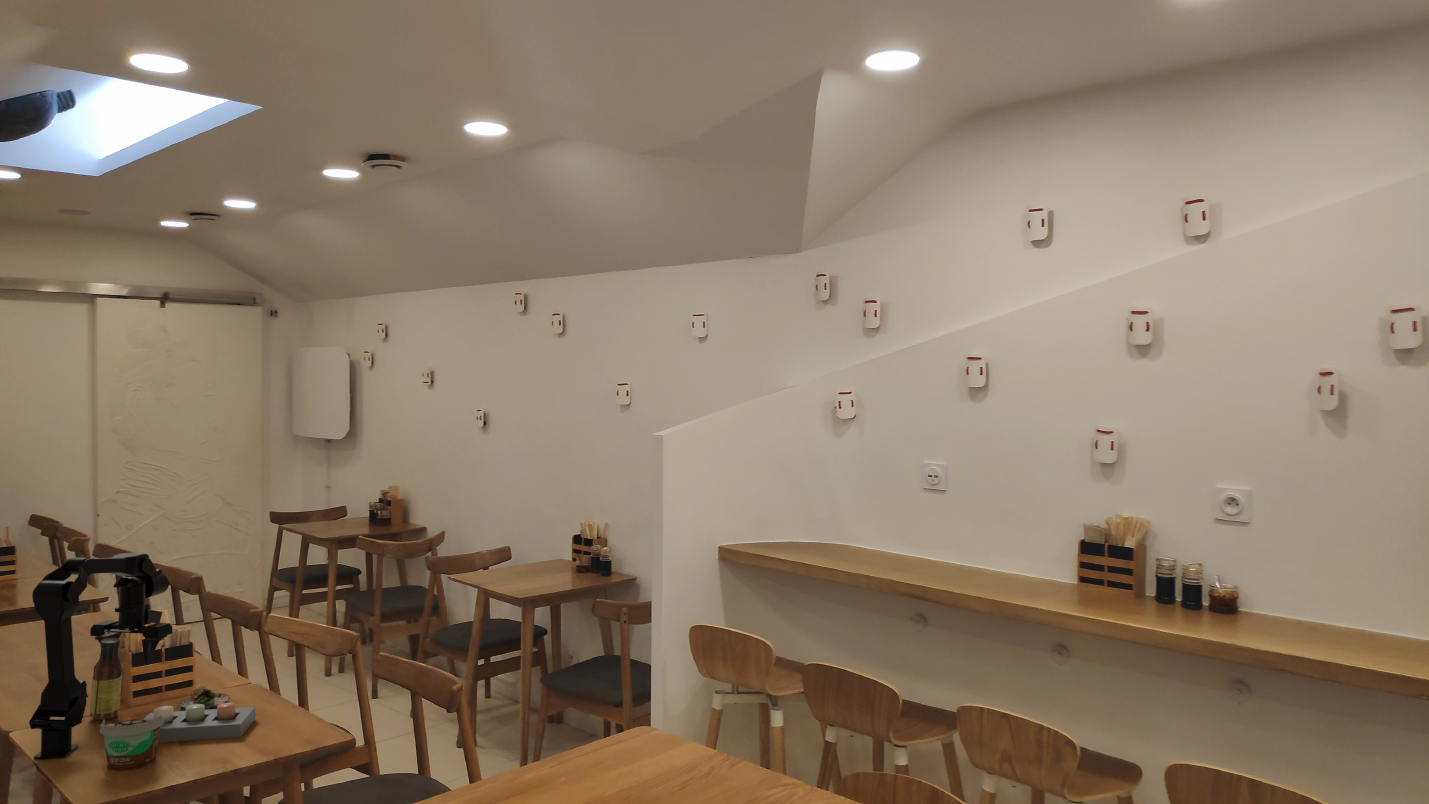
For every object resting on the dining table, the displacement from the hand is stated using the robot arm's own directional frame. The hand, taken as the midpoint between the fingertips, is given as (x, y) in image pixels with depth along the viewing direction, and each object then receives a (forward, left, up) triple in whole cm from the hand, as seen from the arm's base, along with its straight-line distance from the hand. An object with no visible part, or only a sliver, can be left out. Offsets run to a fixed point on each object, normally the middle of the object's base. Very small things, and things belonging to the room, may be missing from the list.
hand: (130, 663), depth 229 cm
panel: (-15, -20, -14) cm, 28 cm away
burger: (+4, -16, -14) cm, 22 cm away
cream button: (-15, -13, -11) cm, 22 cm away
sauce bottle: (-1, +6, -13) cm, 15 cm away
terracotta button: (-15, -27, -10) cm, 32 cm away
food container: (-35, -13, -14) cm, 39 cm away
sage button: (-15, -20, -11) cm, 27 cm away
